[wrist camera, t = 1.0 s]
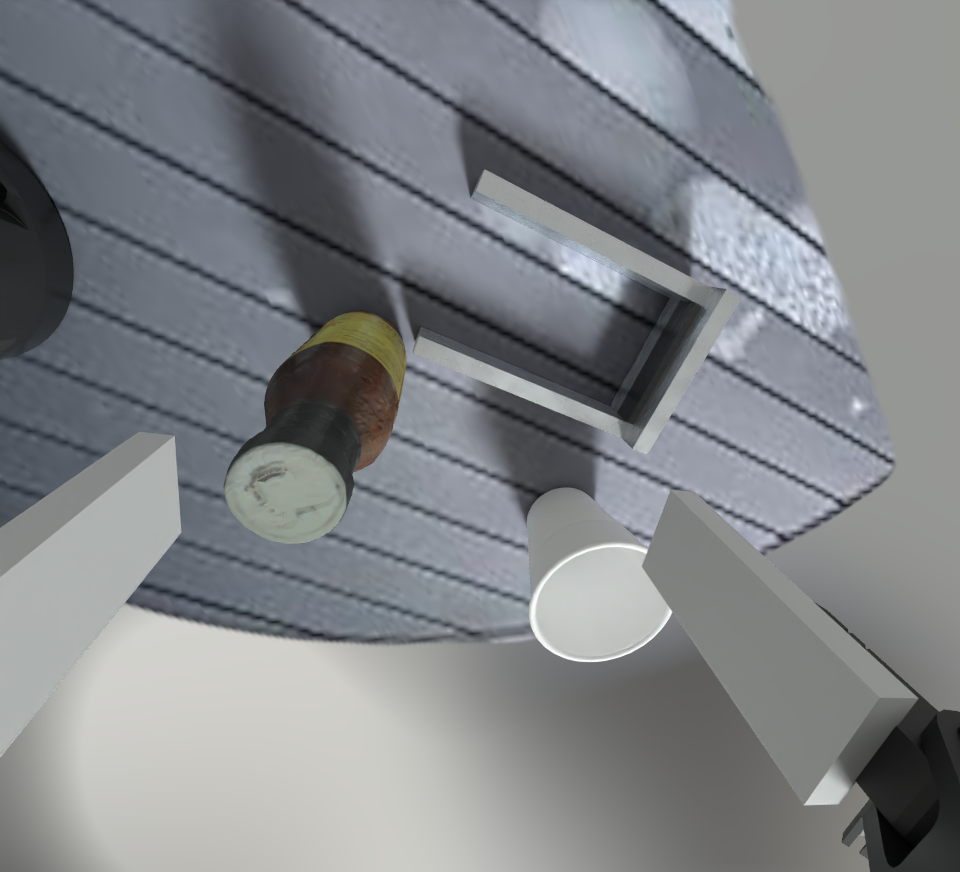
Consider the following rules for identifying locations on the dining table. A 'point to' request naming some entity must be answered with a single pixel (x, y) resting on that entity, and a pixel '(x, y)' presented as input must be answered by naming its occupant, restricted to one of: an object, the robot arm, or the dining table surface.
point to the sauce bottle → (319, 429)
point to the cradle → (658, 365)
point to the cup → (588, 580)
